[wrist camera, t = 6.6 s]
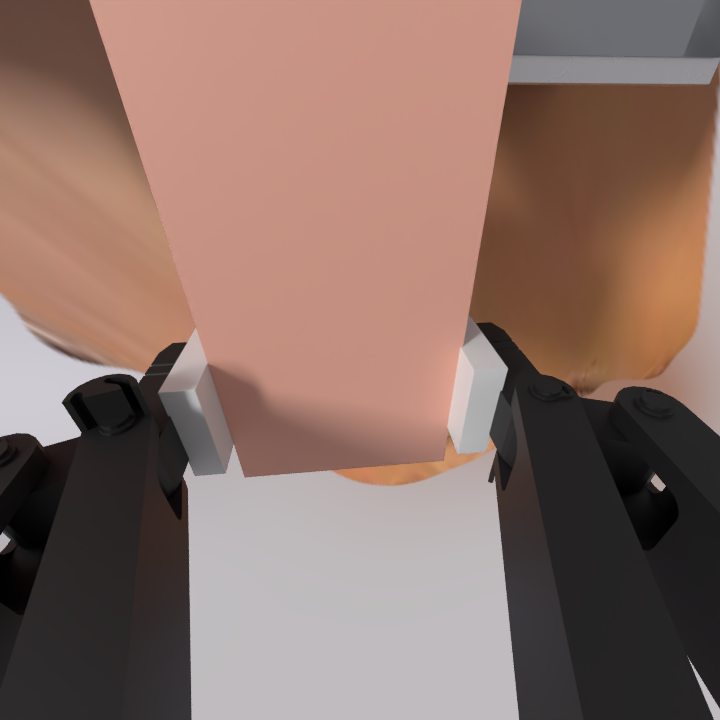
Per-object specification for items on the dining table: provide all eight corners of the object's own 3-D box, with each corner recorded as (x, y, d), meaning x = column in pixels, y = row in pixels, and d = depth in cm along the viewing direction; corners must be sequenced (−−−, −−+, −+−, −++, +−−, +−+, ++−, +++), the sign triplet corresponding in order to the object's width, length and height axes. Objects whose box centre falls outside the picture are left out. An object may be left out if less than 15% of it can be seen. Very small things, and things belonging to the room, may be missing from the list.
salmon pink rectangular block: (199, -72, 10) (-57, -448, 3) (416, -72, 10) (591, -411, 4) (274, 337, 17) (244, 477, 11) (398, 329, 18) (443, 460, 11)
